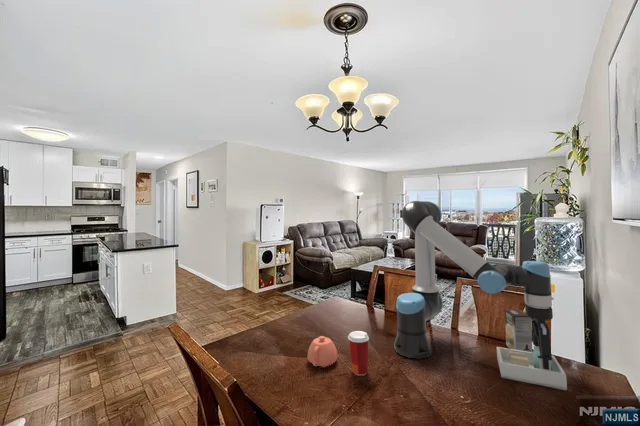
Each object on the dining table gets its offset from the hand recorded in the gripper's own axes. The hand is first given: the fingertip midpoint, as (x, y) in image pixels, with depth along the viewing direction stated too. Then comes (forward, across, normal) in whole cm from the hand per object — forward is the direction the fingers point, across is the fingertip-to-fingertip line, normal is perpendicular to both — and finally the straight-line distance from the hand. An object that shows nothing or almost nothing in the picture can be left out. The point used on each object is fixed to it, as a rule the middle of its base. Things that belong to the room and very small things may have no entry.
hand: (542, 370), depth 95 cm
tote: (+2, 0, +4) cm, 4 cm away
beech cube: (+1, 0, +7) cm, 7 cm away
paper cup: (+2, -24, +59) cm, 64 cm away
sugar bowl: (+2, -24, +75) cm, 79 cm away
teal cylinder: (+1, 0, 0) cm, 1 cm away
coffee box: (+2, +19, +4) cm, 20 cm away
